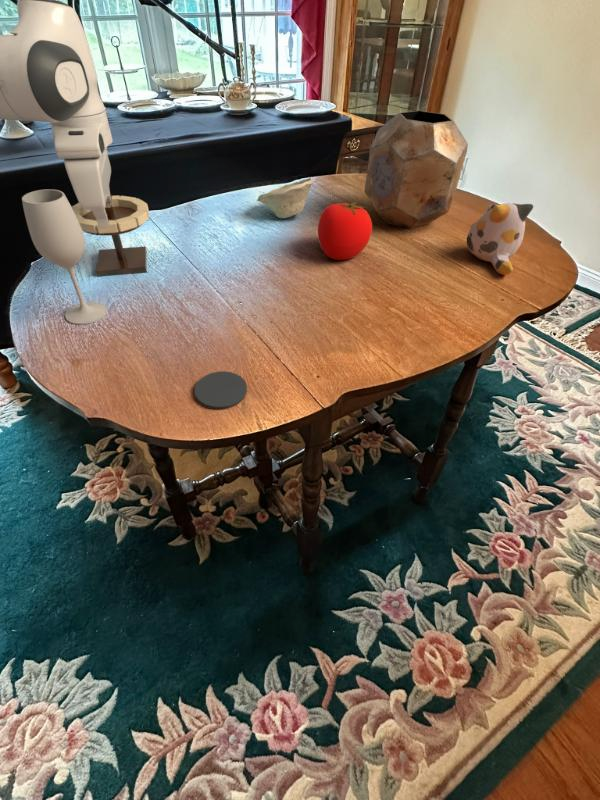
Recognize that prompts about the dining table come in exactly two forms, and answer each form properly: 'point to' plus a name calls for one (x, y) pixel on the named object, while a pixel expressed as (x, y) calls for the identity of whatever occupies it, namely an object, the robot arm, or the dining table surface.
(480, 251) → the figurine
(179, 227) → the dining table surface
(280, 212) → the bowl
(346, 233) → the tomato
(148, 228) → the dining table surface
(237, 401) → the coaster
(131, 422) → the dining table surface
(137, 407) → the dining table surface
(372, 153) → the planter
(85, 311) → the wineglass
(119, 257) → the rack
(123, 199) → the hoop
